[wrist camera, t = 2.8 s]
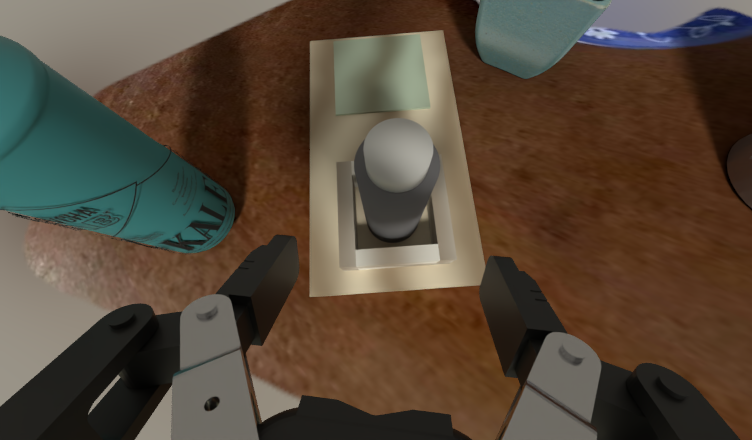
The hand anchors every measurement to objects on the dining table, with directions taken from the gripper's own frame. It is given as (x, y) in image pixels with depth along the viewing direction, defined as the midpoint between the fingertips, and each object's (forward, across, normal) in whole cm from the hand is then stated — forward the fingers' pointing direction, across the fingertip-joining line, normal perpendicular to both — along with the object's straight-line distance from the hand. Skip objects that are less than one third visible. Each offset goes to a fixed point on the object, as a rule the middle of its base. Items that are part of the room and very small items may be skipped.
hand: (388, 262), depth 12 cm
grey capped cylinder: (+11, 0, +4) cm, 12 cm away
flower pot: (+25, -11, -9) cm, 29 cm away
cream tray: (+17, +1, 0) cm, 17 cm away
